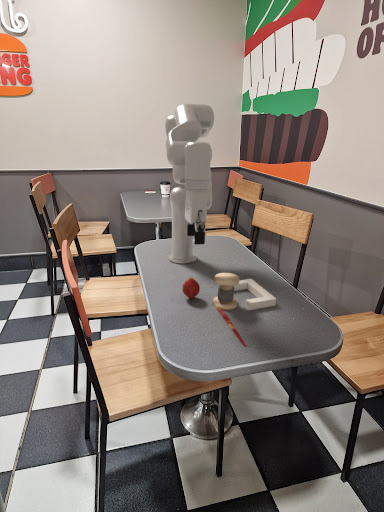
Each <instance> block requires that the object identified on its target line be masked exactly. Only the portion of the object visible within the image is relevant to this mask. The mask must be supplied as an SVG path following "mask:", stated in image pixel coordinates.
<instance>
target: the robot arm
mask: <svg viewBox="0 0 384 512" xmlns="http://www.w3.org/2000/svg"><path fill="white" fill-rule="evenodd" d="M214 123H215V112H214V109H213V107H211V106H210V105H208V104H201V103H184V104H180V105H179V106H177V108H176V109H175V112H174V114H172V115H169V116H168V117H167V118H166V119H165V123H164V124H165V127H164V128H165V133H166V135H165V136H166V140H165V148H166V149H165V150H166V159H167V161H168V164H170V165H171V166H172V177H173V181H174V183H176V184H178V185H184V186H176V187H173V188H172V189H171V191H170V193H169V200H170V201H169V202H170V208H171V253H169V254H168V257H167V258H168V260H169V261H170V262H172V263H175V264H186V265H187V264H191V263H193V262H195V261H196V260H197V259H198V257H197V254H195V253H194V245H196V246H197V245H205V243H206V223H207V217H208V216H207V215H208V211H207V210H210V208H211V207H212V205H213V189H212V188H213V185H212V170H211V161H212V159H213V158H212V157H213V149H212V147H211V145H210V143H208V142H205V141H198V140H199V139H200V138H201V139H202V138H206V137H207V136H208V134H209V133H210V132H211V130H212V129H213V126H214Z"/></svg>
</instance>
